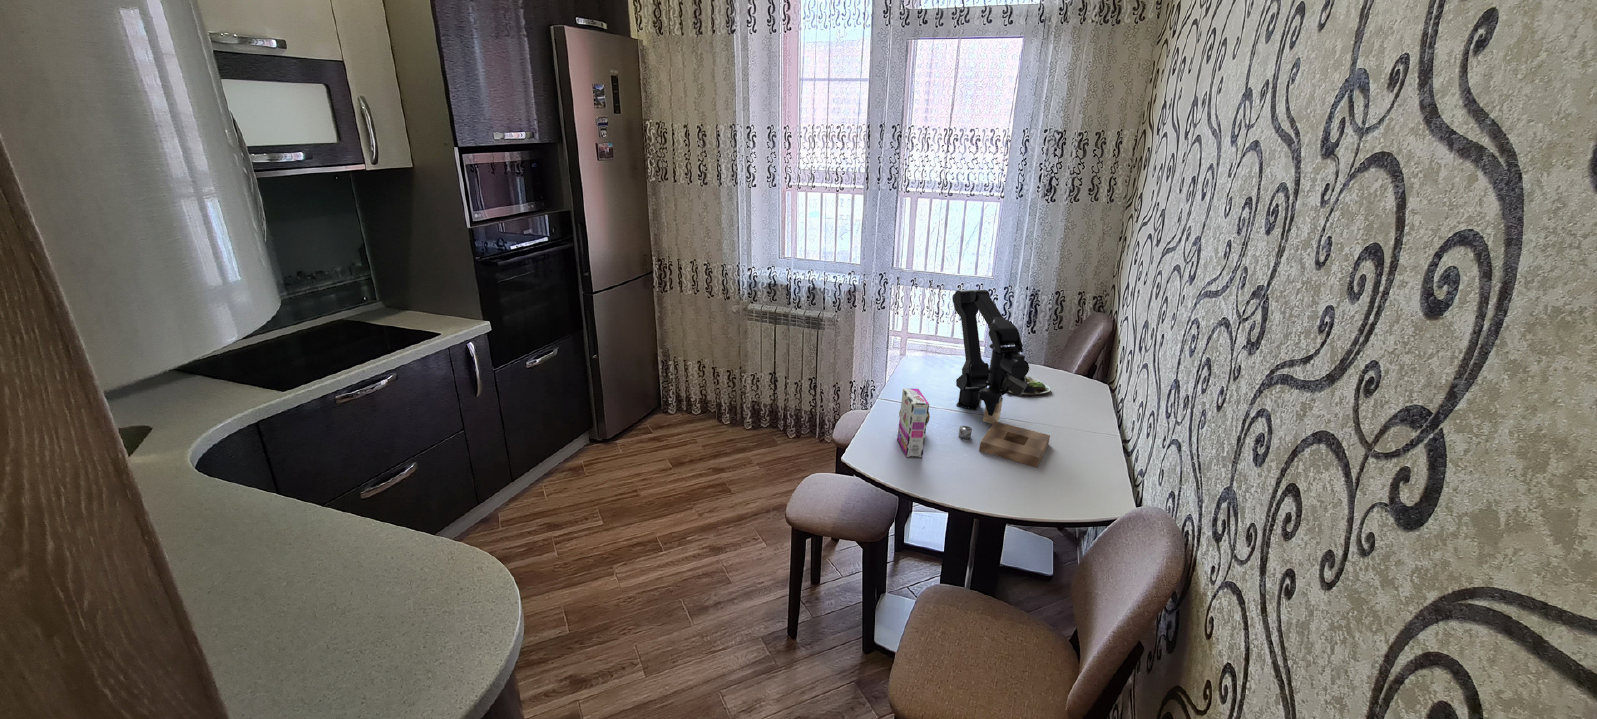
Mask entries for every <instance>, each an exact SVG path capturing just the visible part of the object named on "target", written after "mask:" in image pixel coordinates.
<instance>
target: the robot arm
mask: <svg viewBox="0 0 1597 719" xmlns="http://www.w3.org/2000/svg"><path fill="white" fill-rule="evenodd" d="M990 294H991V293H990V291H989V290H987V289H958V290H956V291H955V293H954V294H953V295H952V299H951V300H952V303H953V306H954V307H953V308H954V311H955V313H956V314H958V316H959V317H960V322H961V330H962V338H963V348H964V356H965V362H964V364H963V366H962V368H961V375H960V376H958V378H956V380H955V386H956V387H957V388H959V395H958V401H957V403H956V406H958V407H961V408H964V409H969V410H973V411H976V410H977V409H978V408H979V407H980V406H981V405H982V402H983V403H984V406H986V409H987V412H988V415H989V416H992V415H993V413H994V410H995V407H996V405H997V404H999V402H1000V401H1001V400H1002V399H1004V397H1003V396H1004V395H1006V394H1008V393H1009V392H1008V391H1009V390H1010V391H1011V392H1013V393H1015V395H1014V396H1017V397H1021V394H1022V393H1023V391H1024V390H1025V388H1026V387H1027V385H1028V384H1027V383H1028V382H1026V376H1027V375H1028V373H1029V371H1030V364H1029V362H1028V361H1026V360H1025V358H1026V357H1025V355H1023V354H1021V353H1024V347H1023V346H1024V344H1023V342H1022V339H1021V335H1020V331H1019V329H1018V328H1017V327H1016V325H1015V324H1014V323H1013V322H1011V321H1010V320H1008V319H1006V318H1004V316H1003V315H1002V313H1001V311H1000V310H999V309H998V307H997V305H996V304H995V302H994V301H993V299H992V298H991V296H990ZM978 312H980V314H981V316H982V318H983V319H984V321H985V322H986V324H987V327H988V337H989V339H990V340H991V344H990V345H989V348H990V349H992V351H991V357H990V363H989V364H988V362H985V361H984V360H983V359H982V354H981V352H982V351H981V344H980V337H979V334H980V333H979V329H978V328H979V326H978V320H977V315H978Z"/></svg>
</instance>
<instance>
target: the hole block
mask: <svg viewBox="0 0 1597 719" xmlns="http://www.w3.org/2000/svg"><path fill="white" fill-rule="evenodd" d="M1050 438H1051V435H1050V434H1046V433H1042V432H1038V431H1035V430H1031V429H1027V428H1023V427H1019V426H1014V425H1012V424H1008V423H1003V422H1000V421H998V422H996V421H995V422H994V423H993V424H992V425H991V426H990V428H989V429H988V430H987V432H986V433H985V434H984V436H983V438H982V439H981V440H980V442H979V449H978V451H979V452H981V453H984V454H988V455H992V456H996V457H998V458H999V457H1000V458H1003V459H1005V460H1009V461H1014V462H1016V463H1020V464H1024V465H1027V466H1030V467H1031V466H1032V467H1035V468H1038V467H1039V464H1040V462H1041V461H1042V458H1044V454H1045V452H1046V450H1047V448H1048V446H1049V445H1050V444H1049V443H1050Z"/></svg>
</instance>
